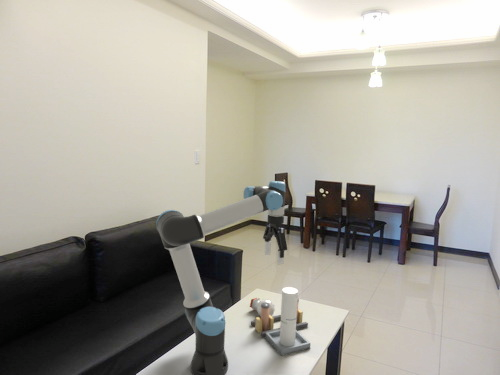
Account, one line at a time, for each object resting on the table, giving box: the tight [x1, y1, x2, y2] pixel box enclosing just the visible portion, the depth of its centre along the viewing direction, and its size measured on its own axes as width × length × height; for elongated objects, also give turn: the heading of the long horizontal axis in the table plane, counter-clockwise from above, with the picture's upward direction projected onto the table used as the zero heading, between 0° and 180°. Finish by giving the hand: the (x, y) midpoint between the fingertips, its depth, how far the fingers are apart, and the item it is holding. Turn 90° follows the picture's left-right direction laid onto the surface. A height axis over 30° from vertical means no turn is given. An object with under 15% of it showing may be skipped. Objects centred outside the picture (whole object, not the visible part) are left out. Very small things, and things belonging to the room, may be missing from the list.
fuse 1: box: [260, 303, 270, 332], centre depth 171 cm, size 4×4×13 cm
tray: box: [265, 329, 311, 357], centre depth 160 cm, size 15×15×2 cm
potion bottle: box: [249, 297, 276, 317], centre depth 186 cm, size 9×10×15 cm
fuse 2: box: [296, 298, 300, 324], centre depth 178 cm, size 4×4×13 cm
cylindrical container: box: [279, 286, 299, 346], centre depth 159 cm, size 7×7×25 cm
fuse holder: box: [250, 308, 309, 338], centre depth 175 cm, size 26×13×6 cm, turn 115°
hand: (273, 259), depth 162 cm, fingers open, 13 cm apart
